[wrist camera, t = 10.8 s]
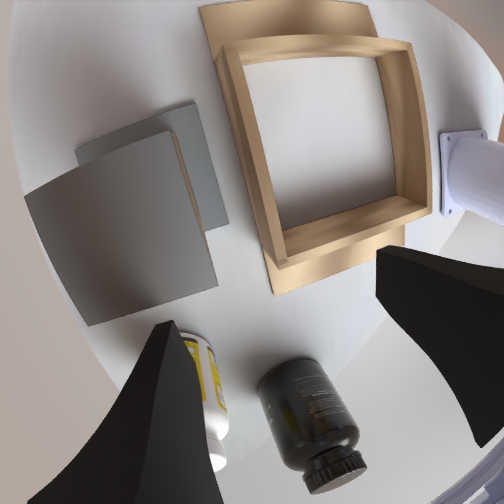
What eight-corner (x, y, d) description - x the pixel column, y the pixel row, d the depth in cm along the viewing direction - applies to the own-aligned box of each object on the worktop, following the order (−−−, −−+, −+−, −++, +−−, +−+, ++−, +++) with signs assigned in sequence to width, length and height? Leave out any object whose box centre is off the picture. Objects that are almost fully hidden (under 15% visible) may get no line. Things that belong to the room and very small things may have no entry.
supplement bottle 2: (241, 390, 24) (278, 502, 13) (295, 346, 23) (359, 460, 12) (285, 407, 27) (325, 497, 16) (333, 370, 26) (390, 459, 15)
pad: (195, 103, 14) (195, 103, 14) (228, 221, 17) (229, 223, 17) (76, 149, 13) (74, 149, 13) (118, 259, 16) (117, 262, 16)
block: (176, 135, 14) (168, 130, 6) (198, 208, 16) (218, 285, 8) (103, 162, 13) (23, 196, 5) (128, 232, 15) (88, 326, 7)
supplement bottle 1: (134, 357, 20) (128, 466, 11) (175, 318, 19) (183, 437, 10) (185, 385, 22) (199, 483, 13) (227, 351, 21) (258, 457, 13)
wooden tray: (365, 6, 13) (393, -7, 10) (402, 243, 22) (429, 260, 19) (199, 9, 11) (205, -18, 8) (273, 294, 20) (290, 323, 17)
